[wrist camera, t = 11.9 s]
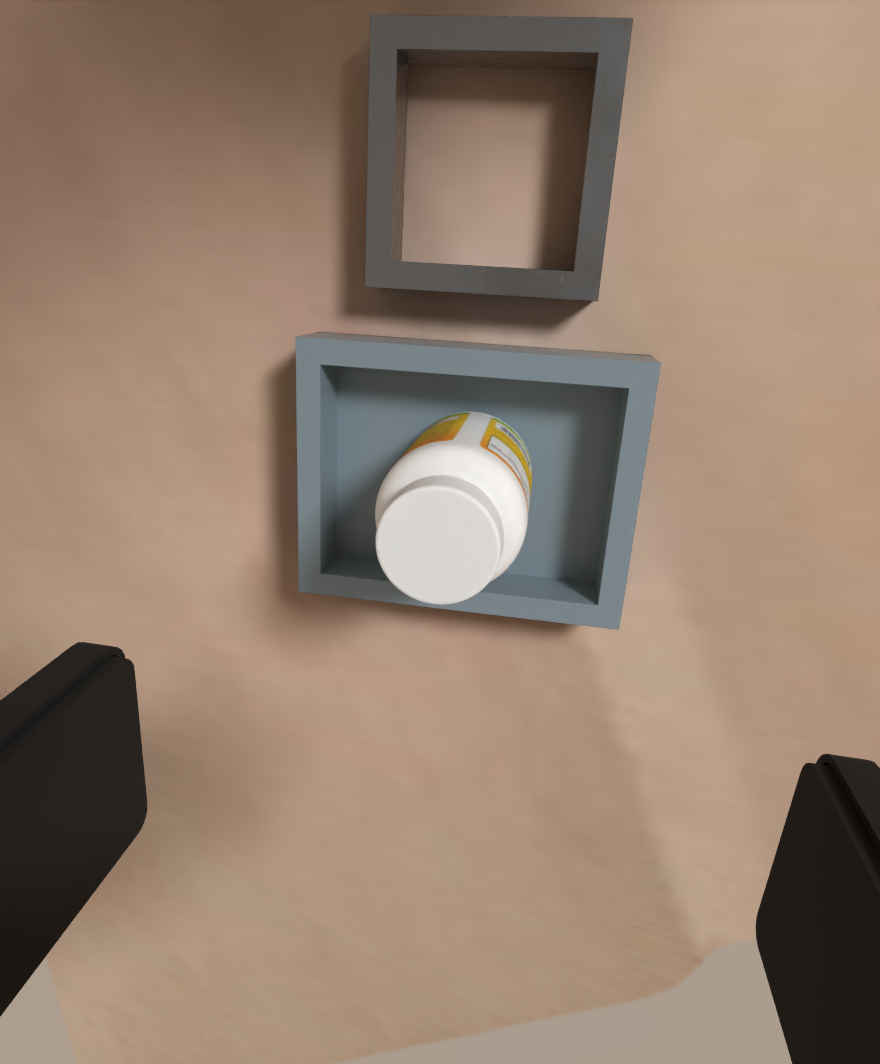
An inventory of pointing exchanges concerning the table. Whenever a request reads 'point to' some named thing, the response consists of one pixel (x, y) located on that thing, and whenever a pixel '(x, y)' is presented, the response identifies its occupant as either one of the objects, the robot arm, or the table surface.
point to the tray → (512, 396)
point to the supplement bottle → (454, 508)
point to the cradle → (489, 46)
